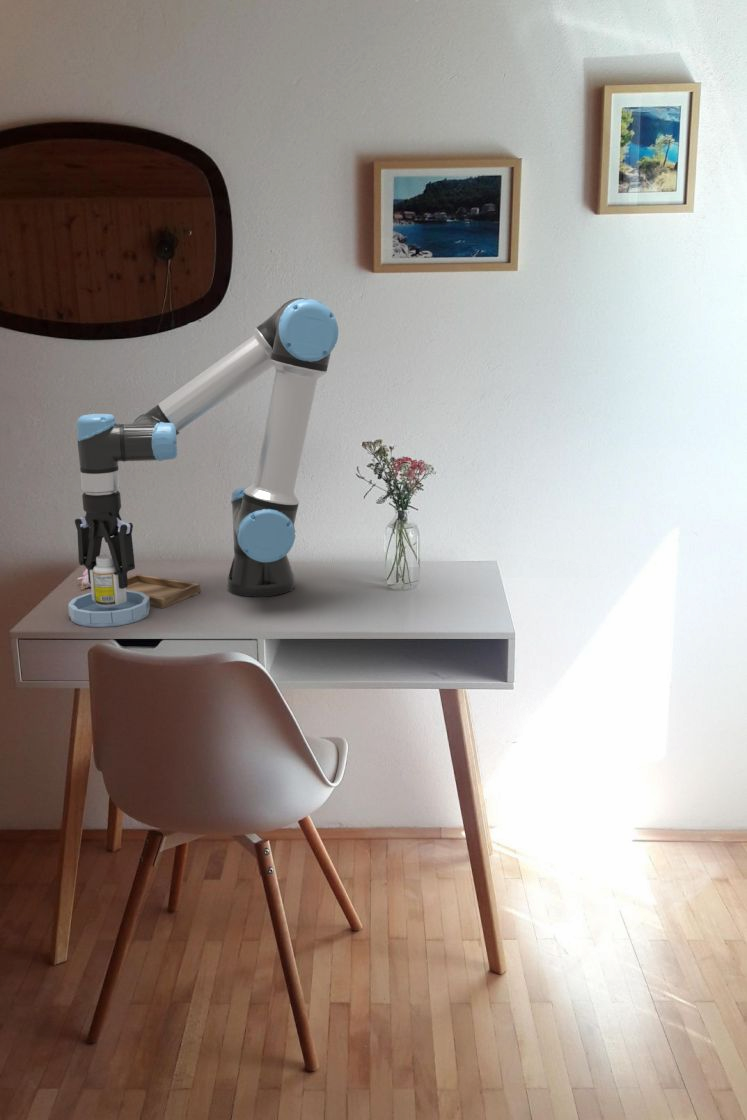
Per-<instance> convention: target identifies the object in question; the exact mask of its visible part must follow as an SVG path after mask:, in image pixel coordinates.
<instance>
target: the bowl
mask: <svg viewBox="0 0 747 1120" xmlns="http://www.w3.org/2000/svg"><path fill="white" fill-rule="evenodd" d="M126 596H127V601H126V602H124V603H122V604H120V605H118V606H115V607H100V606H98V605H97V604H96V600H95V601H94V600H92V593H91V592H88V593H84V594H82V595H79V596H76V597H74V598H72V599H71V601H70V602H69V603H68V604H67V607H68V608H67V609H68V615H69V617H70V621H71V622H72V623H74V624H76V625H79V626H83V627H90V628H91V627H92V628H109V627H118V626H125V625H129V624H134V623H136V622H140V621H142V620H144V619H145V618H146V617H148V616H149V615H150V608H151V606H150V598H149V597H148V596H147V595H145V594H144V593H142V592H137V591H131V590H126Z"/></svg>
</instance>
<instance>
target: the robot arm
mask: <svg viewBox="0 0 747 1120" xmlns="http://www.w3.org/2000/svg"><path fill="white" fill-rule="evenodd" d="M338 339H339V325H338V322H337V318H336V317H335V314H334V313H333V311H332V310H331V309H330V308H329V306H327V305H326V304H324V303H323V302H321V301H320V300H316V299H314V298H303V297H299V298H294V299H290V300H288V301H287V302H284V303H283V304H282V305H281V306H280V307H279V308H277V310H276V311H275V312H273V314H271V315H270V316H269V317H268V318H267V319H266V320H264V322H262V323H261V324H258V326H256V327H255V328H254V332H253V336H251V337H250V338H248V339H247V340H246V341H244V342H243V343H241V344H239V346H238V347H236V348H234V349H233V350H232V351H230V352H229V353H228V354H226V355H225V356H223V357H222V358H220V359H219V360H217V361H216V362H215V363H213V364H212V365H211V366H209V367H208V368H206V369H205V370H204V371H202V372H200V374H198V375H196V377H194V378H193V379H191V380H190V381H188V382H187V383H185V384H184V385H183V386H182V387H180V388H179V389H177V390H176V391H174V392H173V393H172V394H171V395H169V396H167V397H166V398H165V399H163V400H162V401H161V402H159V403H158V404H157V405H155V406H154V407H152V408H151V409H150V410H148V411H147V412H145V413H141V414H140V415H138V416H137V417H136V418H135V419H134V420H133V422H132V423H126V424H123V423H117V421H116V418H115V416H114V414H110V413H89V414H84V415H81V416H80V417H79V418H78V419H77V420H76V421H77V422H76V431H77V432H76V435H77V439H76V441H77V449H78V458H79V459H78V463H79V467H80V469H79V470H80V485H81V486H80V487H81V491H82V492H83V494H82V495H81V496H82V497H81V499H82V509H83V511H84V512H85V516H82V517H78V518H75V519H74V524H75V527H76V530H77V531H76V533H77V550H78V551H77V552H78V564H79V565H80V566H84V567H85V568H87V569H88V580H89V583H90V584H91V587H90V589H91V591H90V593H92V600H94V601H95V600H96V596H95V585H94V574H93V568H94V567H95V566H96V565H97V563H96V557H97V556H100V555H101V548H102V542H103V538H104V541H105V543H107V545H108V549H109V553H110V555H111V556H112V560H113V563H114V567H115V570H116V572H114V574H113V581H114V595H115V604H116V605H119V604H121V603H124V602H126V601H127V596H126V587H127V586H128V581H127V577H128V572H129V571H132V570H135V568H136V565H135V553H134V545H133V544H134V543H133V536H132V535H133V534H132V533H133V530H134V529H133V528H134V525H133V523H132V522H125V521H123V519H122V517H121V515H120V511H121V509H122V499H121V492H120V491H119V489H120V475H119V474H120V473H119V462H123V463H125V462H139V461H141V462H142V461H143V462H145V461H146V462H147V461H159V462H162V461H168V460H175V459H177V456H178V444H177V436H178V435H179V434H180V433H182V432H184V430H186V429H187V428H189V427H190V426H191V425H193V424H195V423H196V422H197V421H198V420H200V419H201V418H203V417H204V416H205V415H207V414H209V412H211V411H213V410H214V409H215V408H217V407H218V406H219V405H221V404H223V403H224V402H225V401H226V400H228V399H229V398H231V397H232V396H234V395H235V394H236V393H238V392H239V391H240V390H242V389H244V387H246V386H248V385H249V384H250V383H252V382H253V381H254V380H256V379H257V378H259V377H260V376H262V375H263V374H264V373H267V371H269V370H270V369H271V368H273V367H274V368H275V374H274V379H273V384H272V388H271V394H270V399H269V403H268V408H267V414H266V418H265V423H264V428H263V433H262V439H261V444H260V448H259V453H258V458H257V462H256V463H257V464H256V469H255V472H254V473H255V474H254V478H253V483H252V484H251V485H249V486H248V487H239V488H236V489H234V490H233V491H232V494H231V500H230V504H231V507H232V530H233V531H232V532H233V533H232V534H233V558H232V563H231V566H230V570H229V573H228V576H227V590H228V591H229V592H230V593H232V594H235V595H239V596H243V597H256V598H259V597H273V596H278V594H279V595H282V594H281V593H283V594H286V593H288V592H287V591H289V590H291V589H292V590H294V589H295V587H296V582H295V581H296V579H295V574H294V572H293V569H292V566H291V563H290V560H289V558H288V554H289V552H290V551H291V550H292V548H293V546H294V543H295V539H296V529H295V522H296V518H297V513H298V509H299V508H298V507H299V502H300V501H299V499H298V497H297V496H296V494H295V492H294V491H295V487H296V483H297V477H298V474H299V473H298V472H299V468H300V463H301V458H302V455H303V450H304V444H305V440H306V435H307V431H308V427H309V420H310V416H311V411H312V407H313V402H314V397H315V392H316V388H317V383H318V380H319V379H320V378H321V377H322V376H324V375H325V374H327V371H328V366H329V363H330V359H331V353H332V352H333V350H334V348H335V347H336V344H337V342H338ZM294 586H295V587H294ZM293 588H294V589H293ZM292 590H291V591H292ZM285 592H286V593H285ZM289 592H290V591H289Z"/></svg>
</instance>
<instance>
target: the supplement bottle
mask: <svg viewBox="0 0 747 1120" xmlns="http://www.w3.org/2000/svg"><path fill="white" fill-rule="evenodd" d="M96 563H97V565H96V566H95V567H94V568H93V574H94V585H95V596H96V604H97V605H98V606H100V607H115V606H118V605H116V604H115V595H114V581H113V574H114V572H116V570H115V567H114V563H113V560H112V556H111V554H100V556H97V557H96ZM121 604H122V603H121ZM119 605H120V604H119Z"/></svg>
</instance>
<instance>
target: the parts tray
mask: <svg viewBox="0 0 747 1120" xmlns="http://www.w3.org/2000/svg"><path fill="white" fill-rule="evenodd" d="M127 581H128V586H127V587H126V590H131V591H137V592H142V593H144V594H145V595H147V596H148V597H149V598H150V607H153V608H158V607H159V609H165V608H167V607H171V605H173V604H176V602H177V603H178V602H182V601H184V600H186V599H189V598H191V597H193V596H195V595H194V594H196V593H198V594H200V593H201V584H200V583H197V582H190V581H183V580H177V579H169V578H165V577H164V578H163V577H157V576H152V575H144V574H140V573H138V574H137V573H135V574H133V575H131V576H127ZM199 592H200V593H199ZM192 595H193V596H192ZM196 595H197V594H196ZM190 596H191V597H190ZM188 597H189V598H188ZM181 600H182V601H181Z"/></svg>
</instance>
